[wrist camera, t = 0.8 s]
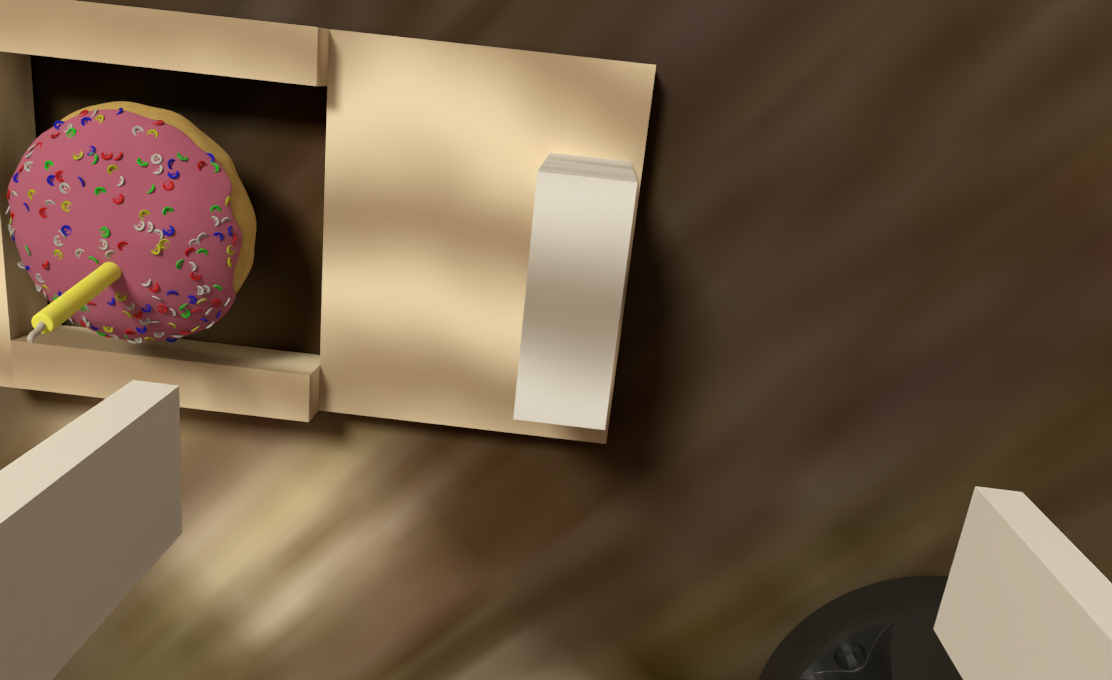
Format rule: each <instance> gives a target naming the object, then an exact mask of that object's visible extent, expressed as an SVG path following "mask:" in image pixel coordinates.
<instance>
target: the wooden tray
mask: <svg viewBox="0 0 1112 680" xmlns="http://www.w3.org/2000/svg"><path fill="white" fill-rule="evenodd" d="M30 55H38V56H47V57H56V58H65V59H74V60H84V61H93V62H102V63H111V64H120V65H129V66H138V67H147V68H156V69H165V70H174V71H183V72H192V73H201V74H210V75H219V76H228V77H237V78H246V79H255V80H264V81H273V82H282V83H291V84H300V85H309V86H327V119H326V156H325V193H324V230H323V267H322V304H321V341H320V355H316V354H307V353H299V352H290V351H282V350H273V349H264V348H256V347H247V346H238V345H230V344H221V343H213V342H204V341H195V340H187V339H178V338H177V340H176V341H175V342H168V341H167V340H161V341H149V342H145V341H142V343H137V344H134V343H130V342H129V341H128V340H122V339H119V340H118V339H114V338H107V337H104V336H100V335H99V334H98V333H97V332H94V331H92V330H90V329H88V328H83V327H74V326H66V325H60V326H59V327H57V328H56V329H55V330H54V331H52V332H51V333H48V334H42V333H41V334H40V335H38V336H37V337H36V338H35V340H34V342H33V343H28V342H27V337H28V335H29V333H30V332H31V331H33V330H34V328H33V326H32V323H31V321H32V318H33V316H34V315H36V314H37V313H38V312H40V311H41V310H42V309H44V308H45V307H46V306H47V298H45V297H44V295H43V294H42V292H41V291H40V292H38V291H37V290H36V287H35V284H34V281H33V280H32V278H31V277H30V275H29V274H28V272H27V270H26V269H22V268H20V267H19V266H18V263H19V262H20V261H22V259H21V256H20V254H19V251H18V248H17V246H16V243H15V241H13V240H12V237H11V236H10V232H9V229H8V225H9V223H10V218H11V217H10V210H9V212H8V214H7V215H6V214H5V213H6V210H7V208H8V206H9V202H8V199H7V193H8V186H9V183H10V180H11V178H12V176H13V174H14V172H15V171H16V169H17V167H18V165H19V163H20V161H21V159H22V157H23V155H24V154H25V152H26V151H27V149H28V148H29V146H30V145H31V144H32V143H33V142H34V141H35V140H36V130H35V116H34V101H33V86H32V72H31V57H30ZM655 70H656V65H652V64H643V63H633V62H624V61H615V60H606V59H597V58H588V57H579V56H569V55H560V54H551V53H542V52H533V51H524V50H515V49H506V48H496V47H487V46H478V45H469V44H460V43H451V42H442V41H432V40H423V39H414V38H405V37H396V36H387V35H378V34H369V33H359V32H350V31H341V30H332V29H325V28H320V27H311V26H302V25H293V24H284V23H275V22H266V21H257V20H248V19H238V18H229V17H220V16H211V15H202V14H193V13H184V12H174V11H165V10H156V9H147V8H138V7H129V6H120V5H110V4H101V3H92V2H83V1H74V0H0V386H4V387H13V388H21V389H30V390H38V391H47V392H55V393H64V394H72V395H81V396H90V397H98V398H107V397H109V396H110V395H112V394H113V393H115V392H116V391H118V390H119V389H121V388H122V387H123V386H125V385H126V384H128V383H129V382H131V381H132V380H138V381H146V382H154V383H162V384H170V385H178V386H179V399H180V407H183V408H192V409H200V410H209V411H217V412H226V413H235V414H243V415H252V416H260V417H269V418H277V419H286V420H294V421H303V422H309V421H310V420H311V419H312V418H313V416H314V415H315V414H316V413H317V412H318V410H320V411H328V412H337V413H346V414H354V415H363V416H371V417H380V418H388V419H397V420H405V421H414V422H422V423H431V424H440V425H448V426H457V427H465V428H474V429H482V430H491V431H499V432H508V433H516V434H525V435H534V436H542V437H551V438H559V439H568V440H576V441H585V442H593V443H602V444H606V441H607V433H608V426H609V418H610V411H611V403H612V395H613V388H614V380H615V373H616V365H617V358H618V350H619V343H620V335H621V327H622V320H623V312H624V305H625V297H626V290H627V282H628V275H629V267H630V259H631V252H632V244H633V237H634V229H635V222H636V214H637V206H638V199H639V191H640V184H641V176H642V169H643V161H644V154H645V146H646V138H647V131H648V123H649V116H650V108H651V101H652V93H653V86H654V78H655ZM11 228H12V226H11ZM11 231H12V229H11ZM22 264H23V263H22ZM22 264H21V266H23V265H24V264H23V265H22ZM24 267H25V266H24ZM169 340H170V339H169ZM171 340H174V339H171ZM135 342H136V341H135Z"/></svg>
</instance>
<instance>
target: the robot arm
mask: <svg viewBox="0 0 1112 680" xmlns="http://www.w3.org/2000/svg"><path fill="white" fill-rule="evenodd" d="M181 533H182V505H181V452H180V399H179V386H178V385H170V384H162V383H154V382H146V381H138V380H132V381H131V382H129V383H128V384H126V385H125V386H123V387H122V388H121V389H119V390H118V391H116V392H115V393H113V394H112V395H110V396H109V397H107V398H106V399H104V400H103V401H102V402H100V403H99V404H97V405H96V406H94V407H93V408H91V409H90V410H88V411H87V412H85V413H84V414H82V415H81V416H80V417H78V418H77V419H75V420H74V421H72V422H71V423H69V424H68V425H66V426H65V427H63V428H62V429H60V430H59V431H58V432H56V433H55V434H53V435H52V436H50V437H49V438H47V439H46V440H44V441H43V442H41V443H40V444H39V445H37V446H36V447H34V448H33V449H31V450H30V451H28V452H27V453H25V454H24V455H22V456H21V457H19V458H18V459H17V460H15V461H14V462H12V463H11V464H9V465H8V466H6V467H5V468H3V469H2V470H0V680H52V679H53V678H54V677H55V675H56V674H57V673H58V672H59V671H60V670H61V669H62V668H63V666H64V665H65V664H66V663H67V662H68V661H69V660H70V658H71V657H72V656H73V655H74V654H75V653H76V652H77V651H78V649H79V648H80V647H81V646H82V645H83V644H84V643H85V642H86V640H87V639H88V638H89V637H90V636H91V635H92V634H93V633H94V631H95V630H96V629H97V628H98V627H99V626H100V625H101V624H102V622H103V621H104V620H105V619H106V618H107V617H108V616H109V614H110V613H111V612H112V611H113V610H114V609H115V608H116V607H117V605H118V604H119V603H120V602H121V601H122V600H123V599H124V598H125V596H126V595H127V594H128V593H129V592H130V591H131V590H132V589H133V587H134V586H135V585H136V584H137V583H138V582H139V581H140V580H141V578H142V577H143V576H144V575H145V574H146V573H147V572H148V570H149V569H150V568H151V567H152V566H153V565H154V564H155V563H156V561H157V560H158V559H159V558H160V557H161V556H162V555H163V554H164V552H165V551H166V550H167V549H168V548H169V547H170V546H171V545H172V543H173V542H174V541H175V540H176V539H177V538H178V537H179V536H180V534H181ZM759 680H1112V583H1111V582H1110V581H1109V580H1108V579H1107V578H1106V577H1105V576H1104V575H1103V574H1102V573H1101V572H1100V571H1099V570H1098V569H1097V568H1096V567H1095V566H1094V565H1093V564H1092V563H1091V562H1090V561H1089V560H1088V559H1087V558H1086V557H1085V556H1084V555H1083V554H1082V553H1081V552H1080V551H1079V550H1078V549H1077V548H1076V547H1075V546H1074V545H1073V544H1072V543H1071V541H1070V540H1069V539H1068V538H1067V537H1066V536H1065V535H1064V534H1063V533H1062V532H1061V531H1060V530H1059V529H1058V528H1057V527H1056V526H1055V525H1054V524H1053V523H1052V522H1051V521H1050V520H1049V519H1048V518H1047V517H1046V516H1045V515H1044V514H1043V513H1042V512H1041V511H1040V510H1039V509H1038V508H1037V507H1036V506H1035V505H1034V504H1033V503H1032V502H1031V501H1030V500H1029V499H1028V498H1027V497H1026V496H1025V495H1024V494H1023V493H1022V492H1016V491H1008V490H1001V489H993V488H985V487H977V486H975V489H974V492H973V496H972V499H971V503H970V506H969V509H968V513H967V516H966V520H965V523H964V526H963V530H962V533H961V537H960V540H959V543H958V547H957V550H956V553H955V557H954V560H953V564H952V567H951V570H950V574H949V577H944V576H916V577H906V578H898V579H892V580H887V581H883V582H879V583H875V584H872V585H868V586H865V587H862V588H859V589H857V590H854V591H851V592H849V593H847V594H845V595H842V596H840V597H838V598H836V599H835V600H833V601H831V602H829V603H827V604H826V605H824V606H822V607H821V608H819V609H818V610H816V611H815V612H813V613H812V614H811V615H809V616H808V617H807V618H805V619H804V620H803V621H802V622H801V623H799V624H798V625H797V626H796V627H795V628H794V629H793V630H792V631H791V632H790V633H789V634H788V635H787V636H786V637H785V638H784V640H783V641H782V642H781V643H780V644H779V646H778V647H777V648H776V650H775V651H774V653H773V654H772V656H771V657H770V659H769V660H768V662H767V664H766V666H765V668H764V670H763V672H762V674H761V676H760V679H759Z"/></svg>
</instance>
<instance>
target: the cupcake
mask: <svg viewBox="0 0 1112 680" xmlns="http://www.w3.org/2000/svg"><path fill="white" fill-rule="evenodd" d="M7 199H8V202H9V206H8V208H7V210H6V213H5V214H6V215H7V214H8V212H9V210H10V217H11V218H10V223H9V225H8V229H9V232H10V236H11V237H12V240H13V241H15V243H16V246H17V248H18V251H19V254H20V256H21V259H22V261H20V262H19V263H18V266H19V267H20V268H22V269H26V270H27V272H28V274H29V275H30V277H31V278H32V280H33V281H34V284H35V287H36V290H37V291H38V292H40V291H41V292H42V294H43V295H44V297H45V298H47V299H48V300H49V301H50V302H51V303H50V304H49V305H48V306H46V307H45V308H44V309H42V310H41V311H40V312H38V313H37V314H36V315H34V316H33V318H32V321H31V323H32V326H33V328H34V330H33V331H31V332H30V333H29V335H28V337H27V342H28V343H33V342H34V340H35V338H36V337H37V336H38V335H40V334H41V333H42V334H48V333H51V332H52V331H54V330H55V329H56V328H57V327H59V326H60V325H61V324H62V323H64V322H65V321H66V320H67V319H70V321H71V322H72V324H73V323H74V322H73V320H74V321H76V322H78V323H79V324H81V325H82V326H84V327H86V328H88V329H90V330H92V331H94V332H97V333H98V334H99V335H100V336H104V337H107V338H114V339H118V340H119V339H122V340H128V341H129V342H130V343H134V344H137V343H142V341H145V342H149V341H161V340H167V341H168V342H175V341H176V340H177V338H181V337H184V336H187V335H190V334H193V333H196V332H199V331H202V330H204V329H206V328H207V329H208V328H210V327H211V326H212V325H213V324H215V323H216V322H217V321H218V320H220V319H221V318H222V317H223V316H224V315H225V314H226V313H227V312H228V310H229V309H230V308H231V306H232V305H233V303H234V301H235V296H236V293H237V292H238V290H239V289H240V287H241V286H242V284H243V283H244V281H245V279H246V277H247V276H248V274H249V272H250V270H251V268H252V264H253V260H254V246H255V238H256V217H255V213H254V210H253V207H252V204H251V202H250V199H249V197H248V194H247V192H246V190H245V188H244V186H243V184H242V182H241V180H240V178H239V177H238V174H237V172H236V169H235V166H234V164H233V161H232V159H231V158H230V156H229V155H228V154H227V153H226V152H225V151H224V150H223V149H222V148H221V147H220V146H219V145H218V144H216V143H215V142H214V141H213V140H212V139H211V138H209V137H208V136H207V135H205V134H204V133H203V132H202V131H201V130H199V129H198V128H197V127H196V126H195V125H194V124H192V123H191V122H190V121H189V120H187V119H186V118H185V117H183V116H181V115H180V114H178V113H175V112H172V111H169V110H165V109H161V108H156V107H151V106H147V105H143V104H139V103H134V102H126V101H116V102H109V103H103V104H98V105H93V106H89V107H86V108H83V109H80V110H78V111H76V112H73V113H71V114H70V115H68V116H66V117H65V118H63V119H62V120H58V121H56V122H54V126H53V127H52V128H50V129H48V130H47V131H45V132H44V133H42V134H41V135H40V136H39V137H38V138H37V139H36V140H35V141H34V142H33V143H32V144H31V145H30V146H29V148H28V149H27V151H26V152H25V154H24V155H23V157H22V159H21V161H20V163H19V165H18V167H17V169H16V171H15V172H14V174H13V176H12V178H11V180H10V183H9V186H8V193H7ZM11 226H12V228H11ZM11 229H12V231H11ZM22 263H23V264H24V265H23V264H22ZM21 264H22V265H23V266H21ZM24 266H25V267H24ZM72 319H73V320H72ZM169 339H170V340H169ZM171 339H174V340H171ZM135 341H136V342H135Z"/></svg>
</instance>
